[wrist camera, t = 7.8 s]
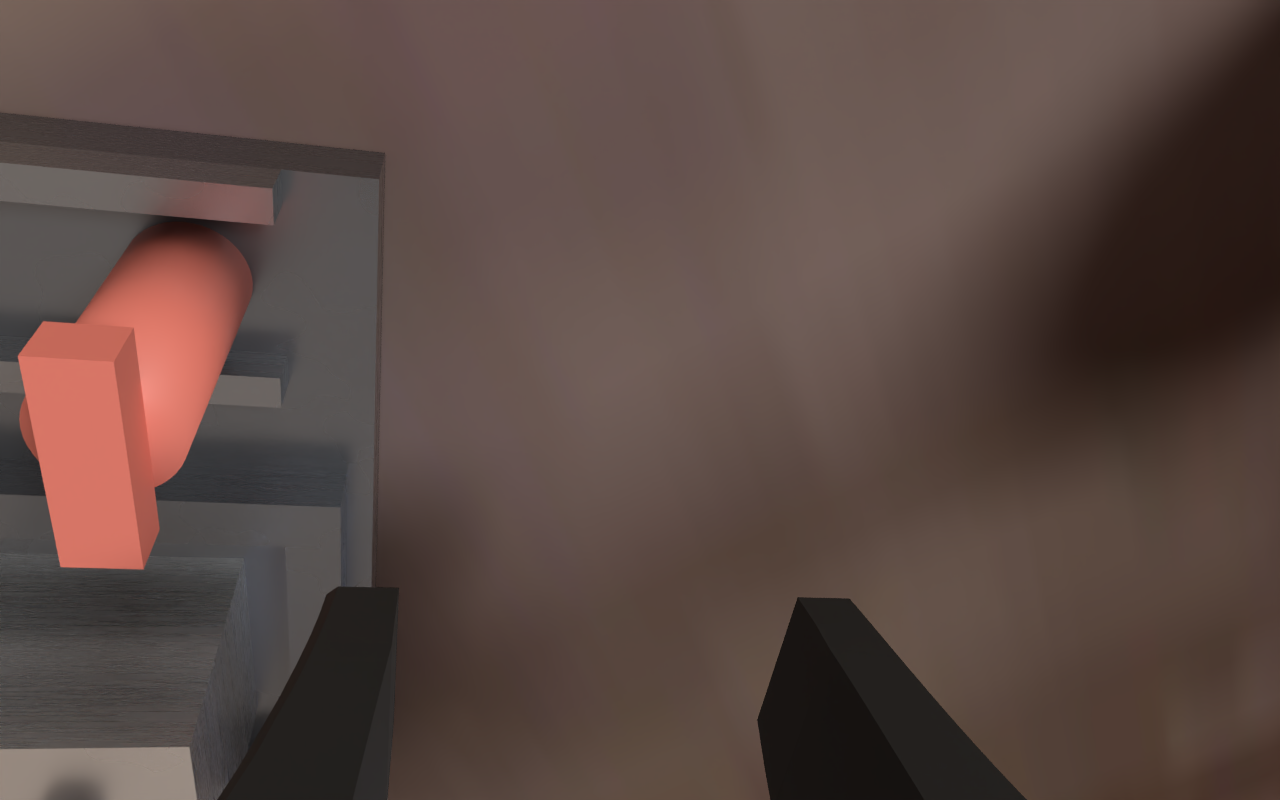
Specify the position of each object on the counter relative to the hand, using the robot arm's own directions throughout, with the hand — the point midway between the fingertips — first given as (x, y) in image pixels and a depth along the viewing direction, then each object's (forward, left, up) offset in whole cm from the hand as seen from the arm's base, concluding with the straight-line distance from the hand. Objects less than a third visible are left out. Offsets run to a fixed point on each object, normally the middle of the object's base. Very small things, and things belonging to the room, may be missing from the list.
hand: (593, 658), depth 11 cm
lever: (+6, 0, -8) cm, 10 cm away
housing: (+8, +8, -8) cm, 14 cm away
